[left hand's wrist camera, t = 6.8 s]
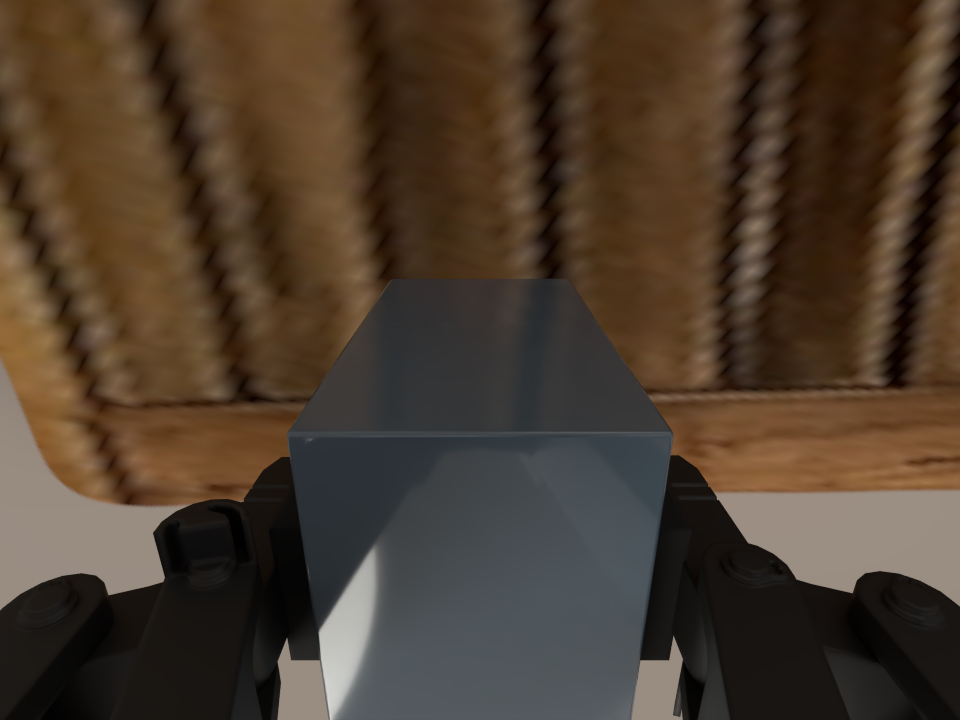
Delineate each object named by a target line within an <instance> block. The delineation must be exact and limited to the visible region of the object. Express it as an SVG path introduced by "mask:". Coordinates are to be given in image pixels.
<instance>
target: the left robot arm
mask: <svg viewBox="0 0 960 720" xmlns="http://www.w3.org/2000/svg"><path fill="white" fill-rule="evenodd" d="M153 535H154V538H155V542H156V546H157V550H158V553H159V557H160V561H161V564H162V568H163V572H164V575H165V579H164V582H162V583H159V584H155V585H152V586H148V587H144V588H140V589H135V590H130V591H126V592H122V593H117V594H113V595H108V593H107V590H106V587H105V583H104V582H103V581H102V580H101V579H99V578H98V577H97V576H95V575H89V574H82V573H81V574H73V575H66V576H61V577H58V578H55V579H52V580H49V581H46V582H43V583H41V584H39V585H37V586H35V587H33V588H31V589H29V590H27V591H25V592H24V593H22V594H20V595H19V596H17V597H16V598H15V599H14V600H12V601H11V602H10V603H9V604H7V605H6V606H5V607H3V608H2V609H1V610H0V720H277V718H278V707H279V697H280V687H281V680H280V674H279V668H278V662H277V661H278V659H279V656H280V654H281V651H282V649H283V646H284V644H285V641H286V639H288V644H289V650H290V656H291V660H320V657H319V651H318V644H317V637H316V630H315V624H314V617H313V610H312V603H311V596H310V590H309V583H308V576H307V569H306V563H305V556H304V549H303V542H302V536H301V529H300V522H299V515H298V508H297V502H296V495H295V488H294V481H293V475H292V468H291V461H290V457H281V458H280V459H278V460H277V461H275V462H274V463H273V464H271V465H270V466H269V467H267V468H266V469H264V470H263V471H262V473H261V474H260V476H259V477H258V479H257V480H256V482H255V483H254V485H253V489H250V491H249V492H248V494H247V495H246V497H245V498H244V502H238V501H234V500H230V499H215V500H208V501H203V502H199V503H195V504H192V505H190V506H187V507H185V508H183V509H181V510H178V511H176V512H175V513H173V514H172V515H170V516H169V517H168V518H166V519H165V520H163V521H162V522H161V523H160V525H159V526H158V527H157V529H156V530H155V531H154V532H153ZM673 635H674V638H675V640H676V643H677V645H678V648H679V650H680V653H681V655H682V658H683V662H682V668H681V673H680V678H679V684H678V689H677V694H676V700H675V706H674V712H673V715H674V716H678V717H680V715H681V710H682V716H683V720H960V606H958V605H957V604H956V603H955V602H953V601H952V600H951V599H950V598H948V597H947V596H946V595H944V594H943V593H942V592H940V591H938V590H936V589H935V588H933V587H931V586H929V585H927V584H925V583H923V582H921V581H919V580H916V579H913V578H910V577H908V576H904V575H901V574H897V573H890V572H882V571H878V572H871V573H865V574H864V575H863V576H862V577H860V578H859V579H858V580H857V582H856V585H855V588H854V591H853V593H849V592H844V591H839V590H835V589H831V588H827V587H822V586H818V585H813V584H809V583H806V582H803V581H799V580H796V578H795V576H794V575H793V573H792V572H791V570H790V569H789V567H788V566H787V565H786V564H785V563H784V562H783V561H782V560H780V559H779V558H778V557H777V556H775V555H774V554H773V553H771V552H769V551H767V550H765V549H763V548H761V547H759V546H756V545H752V544H749V543H748V542H747V541H746V539H745V538H744V536H743V535H742V534H741V532H740V531H739V529H738V528H737V526H736V525H735V523H734V522H733V520H732V519H731V517H730V516H729V514H728V513H727V511H726V510H725V508H724V507H723V506H722V504H721V503H720V501H719V500H717V497H716V495H715V494H714V492H713V491H712V489H711V488H710V487H708V483H707V482H706V480H705V479H704V477H703V476H702V475H701V473H700V472H699V470H698V469H697V468H696V467H694V466H693V465H692V464H690V463H689V462H687V461H686V460H685V459H683V458H682V457H680V456H679V455H670V462H669V469H668V476H667V482H666V489H665V496H664V503H663V509H662V516H661V523H660V530H659V536H658V543H657V550H656V557H655V563H654V570H653V577H652V584H651V590H650V597H649V604H648V611H647V618H646V624H645V631H644V638H643V645H642V651H641V658H640V660H669V658H670V652H671V646H672V641H673Z"/></svg>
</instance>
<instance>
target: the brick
mask: <svg viewBox="0 0 960 720" xmlns="http://www.w3.org/2000/svg"><path fill="white" fill-rule="evenodd" d="M287 441H288V448H289V454H290V461H291V468H292V475H293V481H294V488H295V495H296V502H297V508H298V515H299V522H300V529H301V536H302V542H303V549H304V556H305V563H306V569H307V576H308V583H309V590H310V596H311V603H312V610H313V617H314V624H315V630H316V637H317V644H318V651H319V657H320V664H321V671H322V678H323V684H324V691H325V698H326V705H327V711H328V718H329V720H631V719H632V712H633V705H634V699H635V692H636V685H637V678H638V672H639V665H640V658H641V651H642V645H643V638H644V631H645V624H646V618H647V611H648V604H649V597H650V590H651V584H652V577H653V570H654V563H655V557H656V550H657V543H658V536H659V530H660V523H661V516H662V509H663V503H664V496H665V489H666V482H667V476H668V469H669V462H670V455H671V448H672V442H673V432H672V430H671V429H670V428H669V426H668V425H667V423H666V422H665V420H664V419H663V417H662V416H661V414H660V413H659V411H658V410H657V408H656V407H655V405H654V404H653V402H652V401H651V400H650V398H649V397H648V395H647V394H646V392H645V391H644V389H643V388H642V386H641V385H640V383H639V382H638V380H637V379H636V377H635V376H634V375H633V373H632V372H631V370H630V369H629V367H628V366H627V364H626V363H625V361H624V360H623V358H622V357H621V355H620V354H619V352H618V351H617V349H616V348H615V347H614V345H613V344H612V342H611V341H610V339H609V338H608V336H607V335H606V333H605V332H604V330H603V329H602V327H601V326H600V324H599V323H598V321H597V320H596V319H595V317H594V316H593V314H592V313H591V311H590V310H589V308H588V307H587V305H586V304H585V302H584V301H583V299H582V298H581V296H580V295H579V294H578V292H577V291H576V289H575V288H574V286H573V285H572V283H571V282H570V280H569V279H392V280H390V282H389V283H388V285H387V286H386V288H385V289H384V291H383V292H382V294H381V295H380V297H379V298H378V300H377V301H376V302H375V304H374V305H373V307H372V308H371V310H370V311H369V313H368V314H367V316H366V317H365V319H364V320H363V322H362V323H361V325H360V326H359V328H358V329H357V330H356V332H355V333H354V335H353V336H352V338H351V339H350V341H349V342H348V344H347V345H346V347H345V348H344V350H343V351H342V353H341V354H340V356H339V357H338V358H337V360H336V361H335V363H334V364H333V366H332V367H331V369H330V370H329V372H328V373H327V375H326V376H325V378H324V379H323V381H322V382H321V384H320V385H319V386H318V388H317V389H316V391H315V392H314V394H313V395H312V397H311V398H310V400H309V401H308V403H307V404H306V406H305V407H304V409H303V410H302V411H301V413H300V414H299V416H298V417H297V419H296V420H295V422H294V423H293V425H292V426H291V428H290V429H289V431H288V433H287Z"/></svg>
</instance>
